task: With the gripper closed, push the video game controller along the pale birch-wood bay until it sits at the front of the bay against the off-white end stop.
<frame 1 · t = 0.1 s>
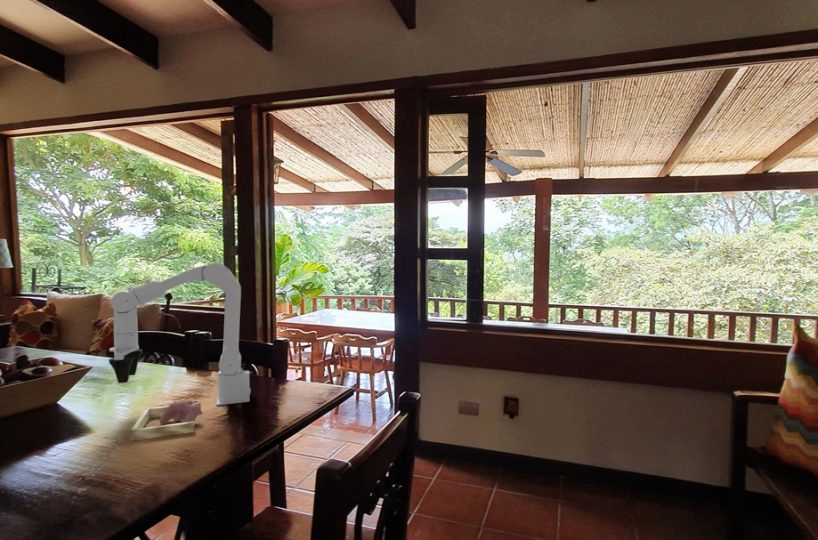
hand: (127, 378, 118), 10 cm above the table, tool pointing down, fingers open, 7 cm apart
video game controller: (181, 423, 111), on the table
bay: (168, 424, 110), on the table
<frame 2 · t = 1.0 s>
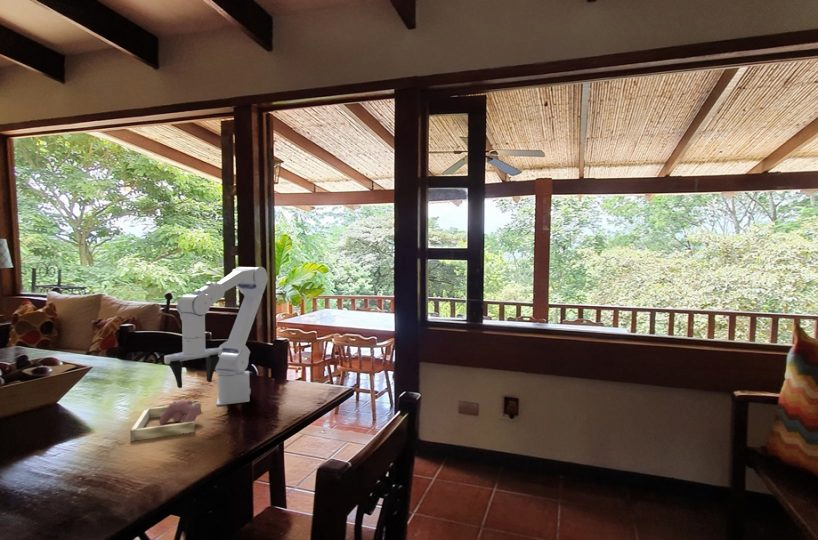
hand: (194, 384, 115), 10 cm above the table, tool pointing down, fingers open, 7 cm apart
nothing on the table moved.
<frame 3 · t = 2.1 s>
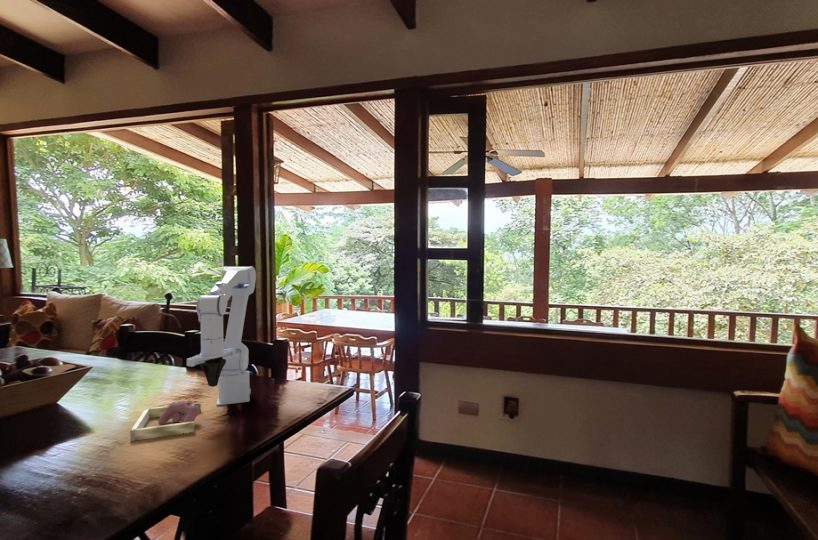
hand: (212, 385, 114), 9 cm above the table, tool pointing down, fingers closed
nothing on the table moved.
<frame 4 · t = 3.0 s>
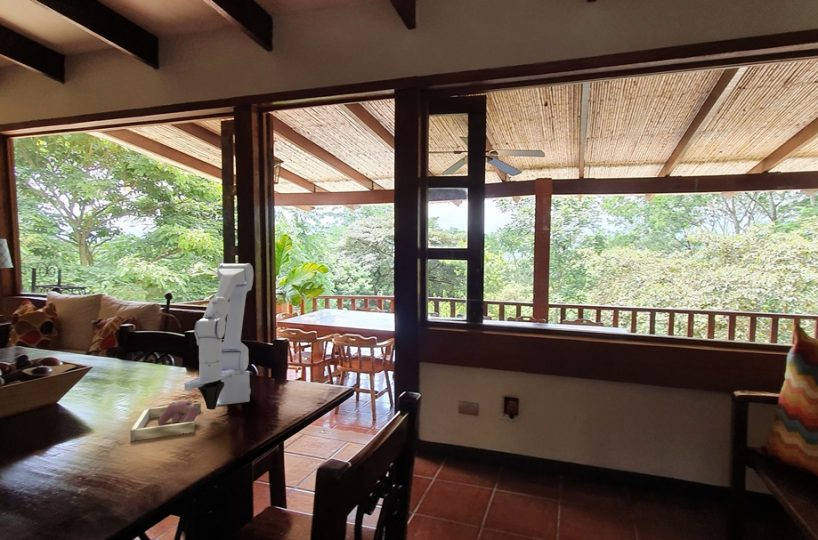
hand: (211, 408, 114), 3 cm above the table, tool pointing down, fingers closed
nothing on the table moved.
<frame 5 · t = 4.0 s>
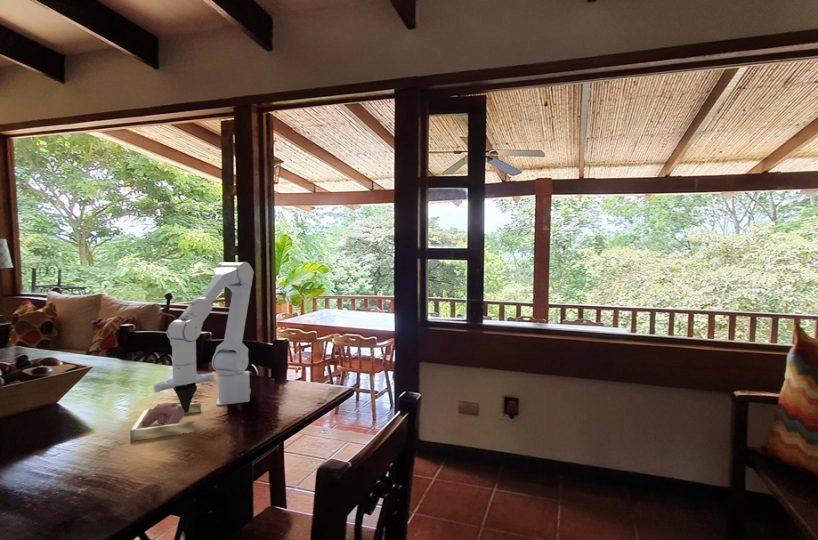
hand: (185, 411, 112), 3 cm above the table, tool pointing down, fingers closed, pressing on video game controller
video game controller: (164, 426, 109), on the table, touching bay, gripper
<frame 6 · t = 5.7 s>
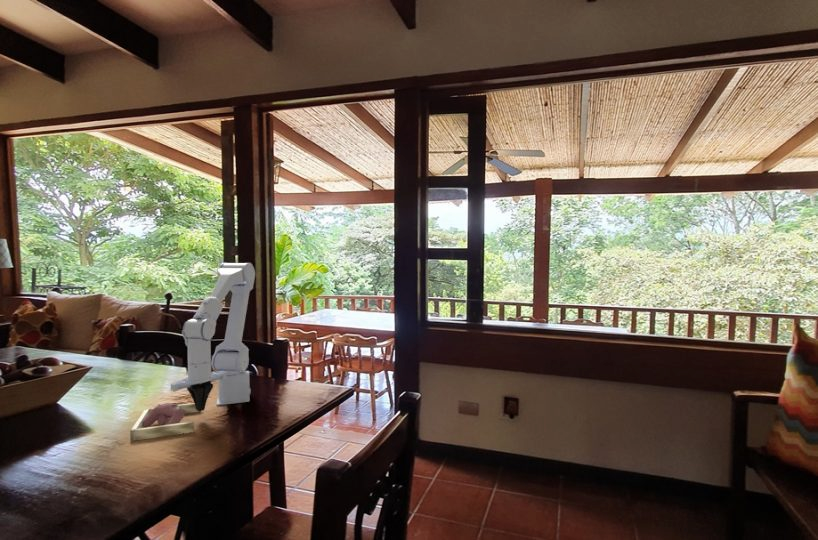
hand: (200, 409, 113), 3 cm above the table, tool pointing down, fingers closed
video game controller: (164, 427, 109), on the table
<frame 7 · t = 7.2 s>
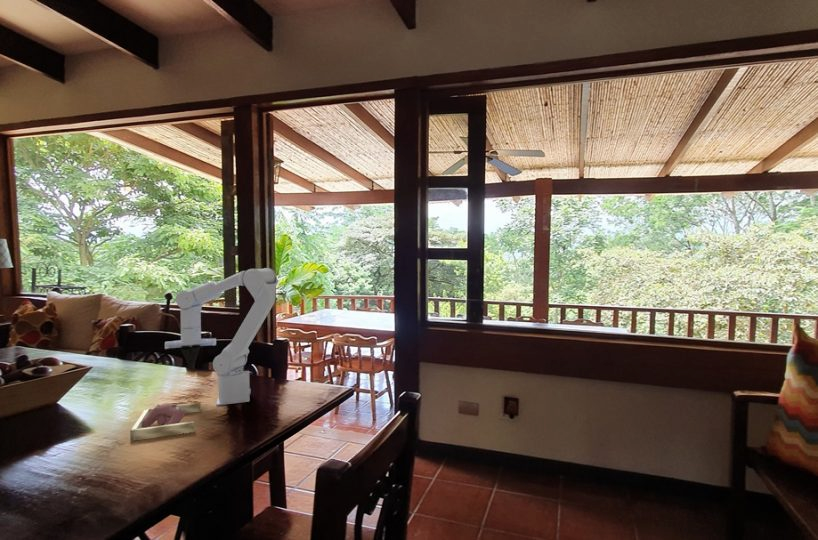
hand: (191, 368, 131), 9 cm above the table, tool pointing down, fingers closed
nothing on the table moved.
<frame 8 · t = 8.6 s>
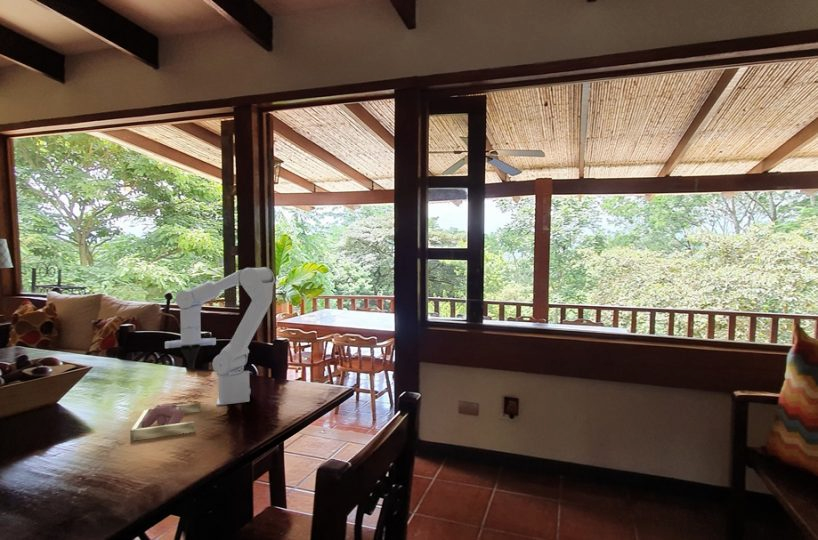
hand: (191, 368, 132), 9 cm above the table, tool pointing down, fingers closed
nothing on the table moved.
at the end: video game controller inside the target area (2.5 cm from its centre), on the table; video game controller tilted 0° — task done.
